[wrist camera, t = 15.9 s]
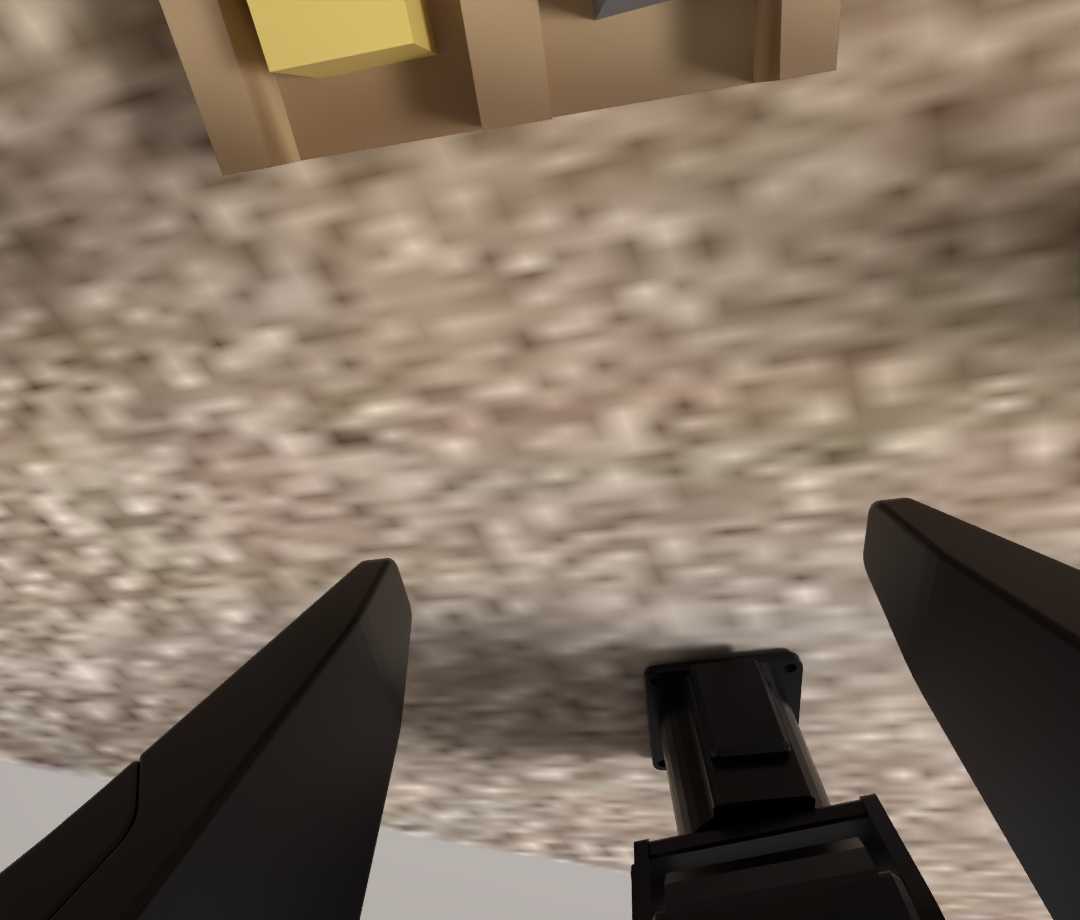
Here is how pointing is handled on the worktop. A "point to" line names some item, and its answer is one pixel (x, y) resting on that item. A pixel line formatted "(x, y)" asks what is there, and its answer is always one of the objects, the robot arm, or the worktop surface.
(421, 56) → the yellow rectangular block
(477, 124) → the slot board
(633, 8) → the tall grey block
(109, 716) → the worktop surface
